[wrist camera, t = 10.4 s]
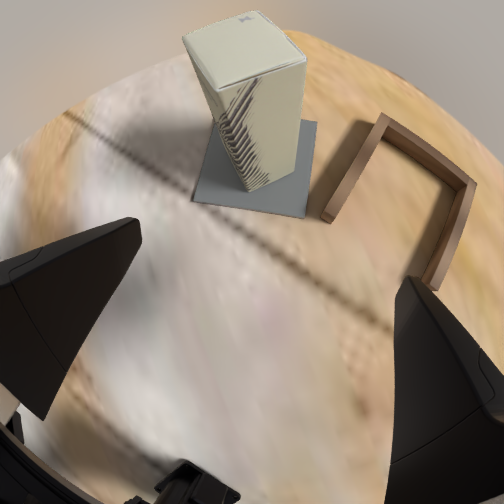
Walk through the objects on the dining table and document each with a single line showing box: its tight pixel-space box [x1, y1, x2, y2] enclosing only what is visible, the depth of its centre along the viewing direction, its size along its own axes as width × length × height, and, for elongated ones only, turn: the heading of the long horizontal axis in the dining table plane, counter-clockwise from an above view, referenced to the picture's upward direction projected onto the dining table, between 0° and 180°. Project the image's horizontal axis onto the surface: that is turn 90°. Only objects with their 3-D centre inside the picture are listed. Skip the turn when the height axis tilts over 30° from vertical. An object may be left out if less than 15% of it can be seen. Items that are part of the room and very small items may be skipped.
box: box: [182, 10, 307, 192], centre depth 16 cm, size 5×4×13 cm
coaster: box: [193, 119, 317, 219], centre depth 23 cm, size 9×9×1 cm
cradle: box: [320, 112, 477, 291], centre depth 20 cm, size 11×11×2 cm
